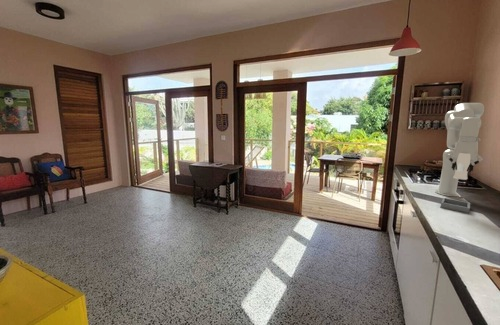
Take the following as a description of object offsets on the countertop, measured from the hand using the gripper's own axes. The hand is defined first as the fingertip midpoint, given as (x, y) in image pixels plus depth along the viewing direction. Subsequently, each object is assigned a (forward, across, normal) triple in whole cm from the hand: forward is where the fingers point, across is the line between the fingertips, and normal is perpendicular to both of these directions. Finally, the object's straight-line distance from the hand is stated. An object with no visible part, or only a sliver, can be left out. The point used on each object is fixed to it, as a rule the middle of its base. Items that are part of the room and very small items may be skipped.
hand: (461, 170), depth 136 cm
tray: (+22, 0, 0) cm, 22 cm away
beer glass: (+5, 0, 0) cm, 5 cm away
